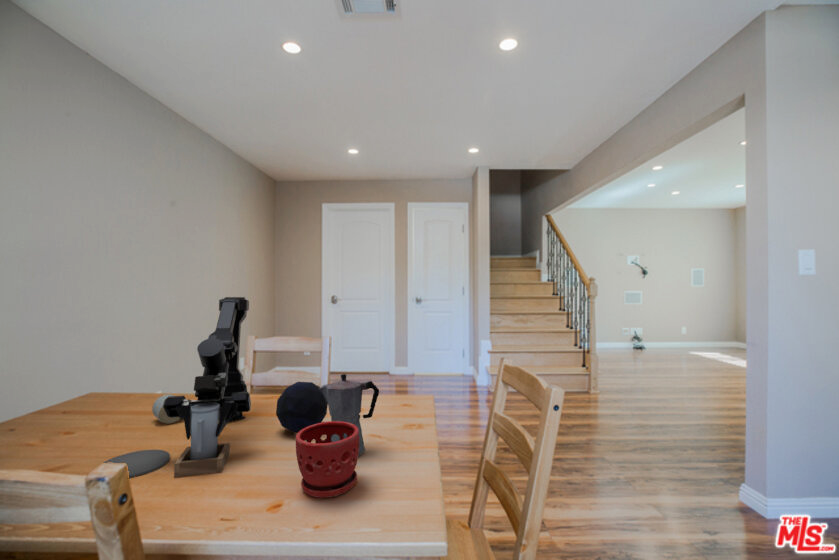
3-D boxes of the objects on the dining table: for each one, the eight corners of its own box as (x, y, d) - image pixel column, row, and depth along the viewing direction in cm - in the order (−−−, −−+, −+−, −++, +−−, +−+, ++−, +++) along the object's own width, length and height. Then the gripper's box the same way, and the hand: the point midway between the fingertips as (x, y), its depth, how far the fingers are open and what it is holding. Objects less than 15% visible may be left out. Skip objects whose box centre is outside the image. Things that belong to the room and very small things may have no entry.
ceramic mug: (158, 427, 117) (159, 401, 118) (151, 421, 123) (152, 396, 123) (197, 419, 125) (198, 395, 125) (189, 414, 131) (190, 390, 131)
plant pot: (320, 468, 92) (321, 417, 92) (370, 479, 87) (370, 425, 87) (281, 496, 80) (282, 436, 80) (335, 510, 75) (336, 447, 75)
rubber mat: (160, 448, 103) (160, 444, 103) (177, 464, 93) (177, 461, 93) (91, 465, 92) (91, 462, 92) (103, 486, 83) (103, 482, 83)
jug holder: (186, 459, 96) (187, 446, 96) (229, 454, 99) (229, 442, 99) (174, 477, 87) (174, 463, 87) (221, 472, 90) (221, 458, 90)
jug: (193, 461, 95) (194, 403, 95) (220, 458, 97) (222, 401, 97) (183, 476, 88) (185, 413, 88) (213, 473, 89) (214, 411, 89)
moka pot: (321, 445, 105) (321, 370, 105) (378, 443, 106) (379, 369, 107) (314, 461, 95) (315, 378, 96) (378, 459, 97) (378, 377, 97)
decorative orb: (261, 411, 117) (277, 375, 111) (305, 400, 128) (322, 367, 122) (280, 451, 109) (299, 415, 103) (325, 435, 121) (344, 402, 115)
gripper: (166, 363, 95) (147, 424, 84) (249, 359, 100) (242, 417, 89) (176, 387, 102) (160, 447, 91) (253, 383, 107) (247, 439, 96)
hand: (202, 437), depth 92 cm, fingers closed on jug, 6 cm apart
